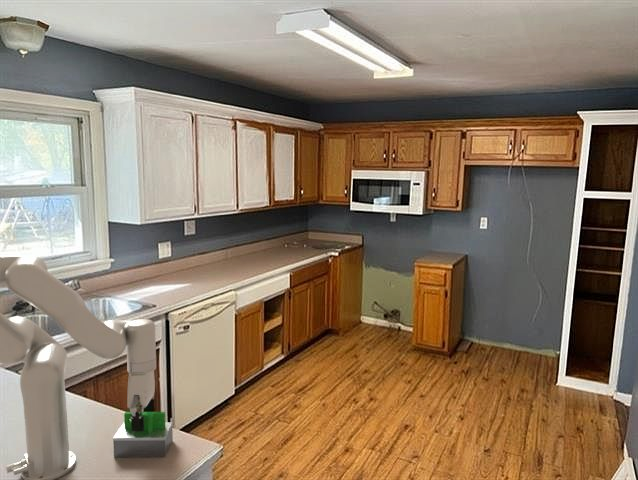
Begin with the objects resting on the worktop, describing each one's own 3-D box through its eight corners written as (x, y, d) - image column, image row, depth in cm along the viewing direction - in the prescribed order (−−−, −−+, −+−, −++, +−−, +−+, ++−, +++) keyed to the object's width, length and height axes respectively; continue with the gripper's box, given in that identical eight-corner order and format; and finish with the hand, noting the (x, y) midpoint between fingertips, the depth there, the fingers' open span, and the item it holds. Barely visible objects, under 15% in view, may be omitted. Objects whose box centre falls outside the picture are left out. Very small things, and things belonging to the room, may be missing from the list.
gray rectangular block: (114, 457, 129) (113, 437, 129) (124, 441, 137) (123, 422, 136) (165, 457, 130) (164, 437, 129) (172, 441, 138) (172, 422, 137)
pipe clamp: (121, 433, 131) (120, 418, 130) (126, 426, 134) (125, 411, 134) (161, 433, 131) (161, 418, 131) (165, 426, 135) (165, 411, 134)
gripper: (138, 352, 138) (139, 406, 141) (116, 377, 121) (118, 438, 124) (164, 352, 139) (165, 406, 141) (145, 377, 122) (147, 438, 124)
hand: (143, 421), depth 132 cm, fingers open, 9 cm apart
